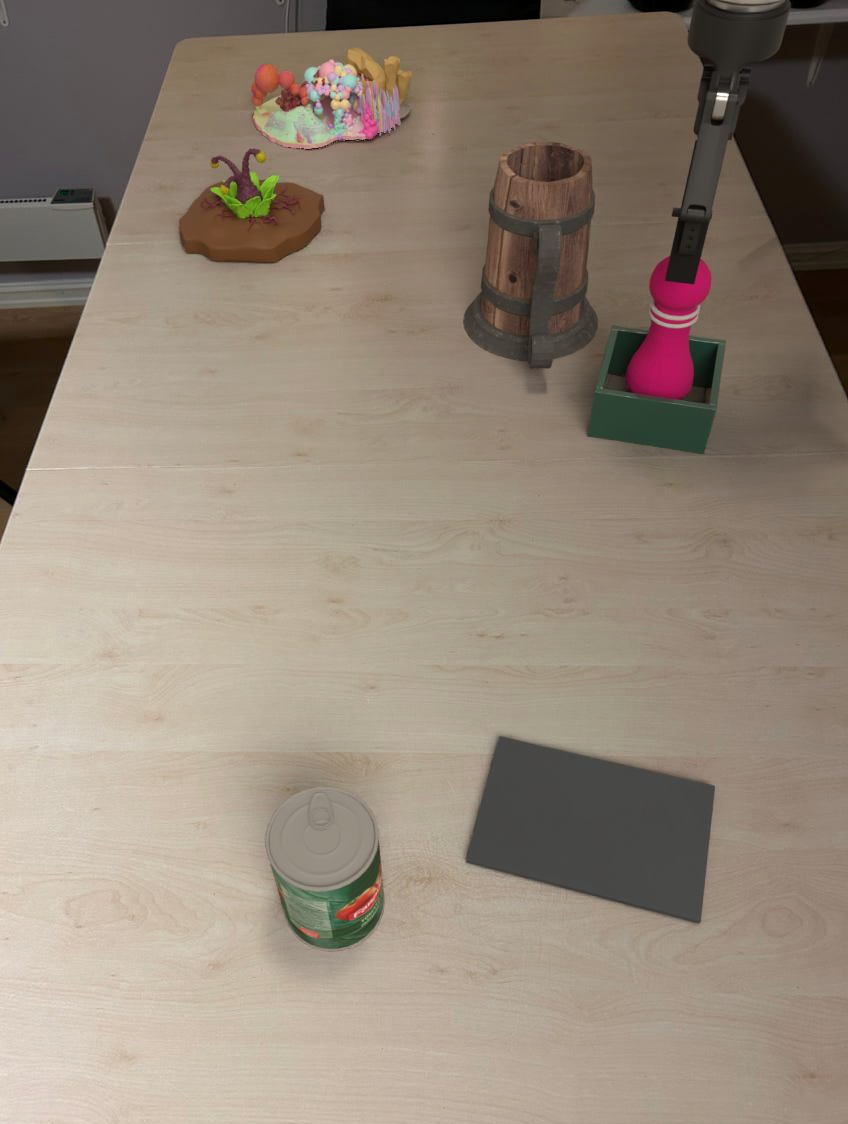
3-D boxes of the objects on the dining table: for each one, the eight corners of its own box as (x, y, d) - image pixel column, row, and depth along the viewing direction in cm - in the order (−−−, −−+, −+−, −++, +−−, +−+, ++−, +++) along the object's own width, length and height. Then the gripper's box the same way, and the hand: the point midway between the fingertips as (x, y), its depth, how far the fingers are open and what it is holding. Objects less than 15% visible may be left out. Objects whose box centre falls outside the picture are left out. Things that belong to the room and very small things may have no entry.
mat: (713, 789, 79) (715, 785, 79) (699, 924, 72) (701, 921, 72) (498, 739, 83) (499, 735, 83) (465, 862, 76) (465, 859, 76)
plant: (291, 273, 131) (281, 192, 123) (163, 254, 136) (144, 175, 127) (341, 201, 143) (335, 122, 134) (221, 186, 148) (208, 110, 139)
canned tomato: (389, 946, 73) (383, 884, 64) (285, 956, 72) (265, 895, 64) (380, 850, 78) (374, 780, 69) (282, 859, 77) (264, 791, 69)
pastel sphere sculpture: (343, 74, 171) (339, 16, 164) (437, 113, 160) (437, 52, 153) (231, 122, 161) (222, 62, 154) (323, 167, 150) (318, 105, 143)
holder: (713, 384, 112) (726, 340, 107) (703, 454, 105) (716, 409, 100) (604, 369, 115) (612, 325, 110) (587, 436, 108) (594, 391, 103)
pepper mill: (664, 384, 113) (702, 219, 97) (696, 421, 108) (742, 254, 93) (608, 398, 111) (637, 234, 96) (638, 436, 107) (674, 270, 92)
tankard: (462, 284, 128) (466, 128, 112) (591, 281, 127) (614, 123, 111) (465, 395, 113) (472, 233, 97) (611, 393, 112) (641, 229, 96)
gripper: (710, -60, 86) (663, 177, 102) (679, 54, 71) (630, 309, 88) (799, -56, 84) (737, 185, 101) (785, 62, 70) (715, 320, 86)
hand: (687, 243), depth 94 cm, fingers open, 13 cm apart
